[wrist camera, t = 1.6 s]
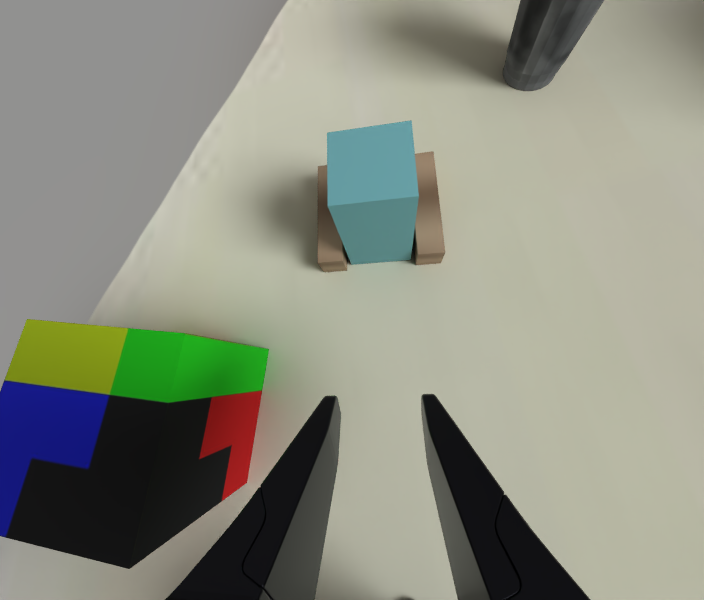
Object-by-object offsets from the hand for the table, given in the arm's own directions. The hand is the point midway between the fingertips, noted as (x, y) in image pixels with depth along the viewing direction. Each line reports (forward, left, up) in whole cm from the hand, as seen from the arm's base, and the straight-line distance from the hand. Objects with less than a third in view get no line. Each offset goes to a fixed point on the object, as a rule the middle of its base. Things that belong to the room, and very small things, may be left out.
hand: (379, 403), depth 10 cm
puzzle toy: (-13, +7, -13) cm, 20 cm away
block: (+7, +11, -13) cm, 18 cm away
